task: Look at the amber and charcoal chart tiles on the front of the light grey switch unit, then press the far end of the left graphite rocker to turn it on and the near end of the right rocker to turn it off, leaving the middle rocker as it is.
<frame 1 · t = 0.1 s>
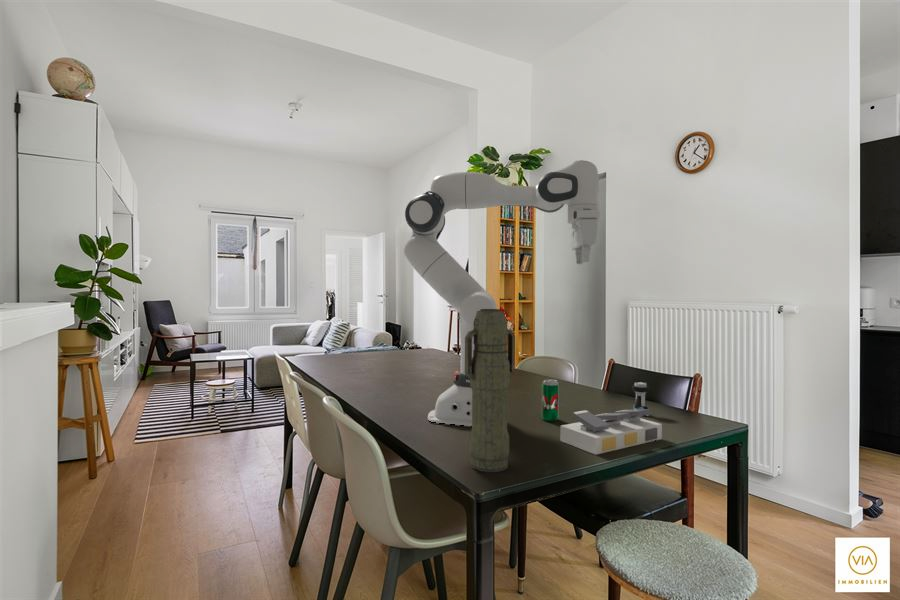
hand: (582, 263, 139), 48 cm above the table, tool pointing down, fingers open, 8 cm apart
middle rocker: (611, 416, 123), point 6 cm above the table, hinge at 14.0°
switch unit: (611, 439, 123), on the table
right rocker: (631, 412, 127), point 6 cm above the table, hinge at 14.0°
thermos: (488, 465, 104), on the table
left rocker: (590, 420, 119), point 6 cm above the table, hinge at -14.0°
soda can: (550, 420, 142), on the table
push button: (641, 415, 149), on the table
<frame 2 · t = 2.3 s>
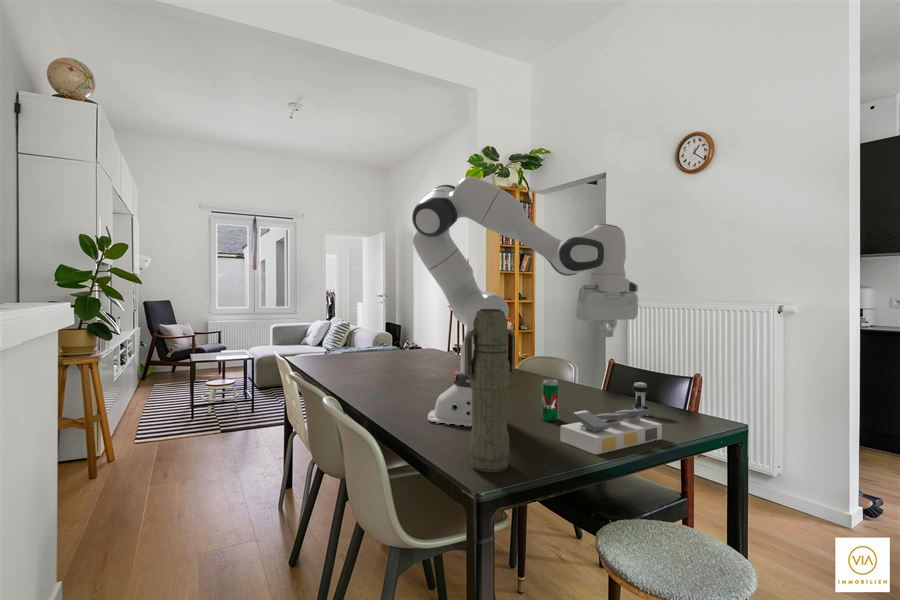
hand: (607, 337, 125), 27 cm above the table, tool pointing down, fingers closed
nothing on the table moved.
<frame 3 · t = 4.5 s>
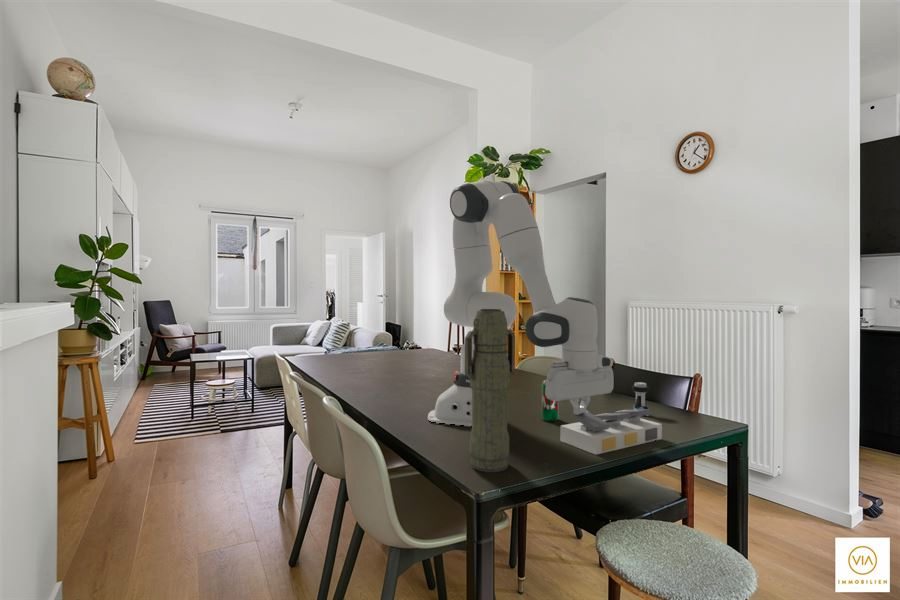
hand: (579, 413, 120), 8 cm above the table, tool pointing down, fingers closed, pressing on left rocker
left rocker: (590, 420, 119), point 6 cm above the table, hinge at -14.0°, touching gripper
everything else where it was.
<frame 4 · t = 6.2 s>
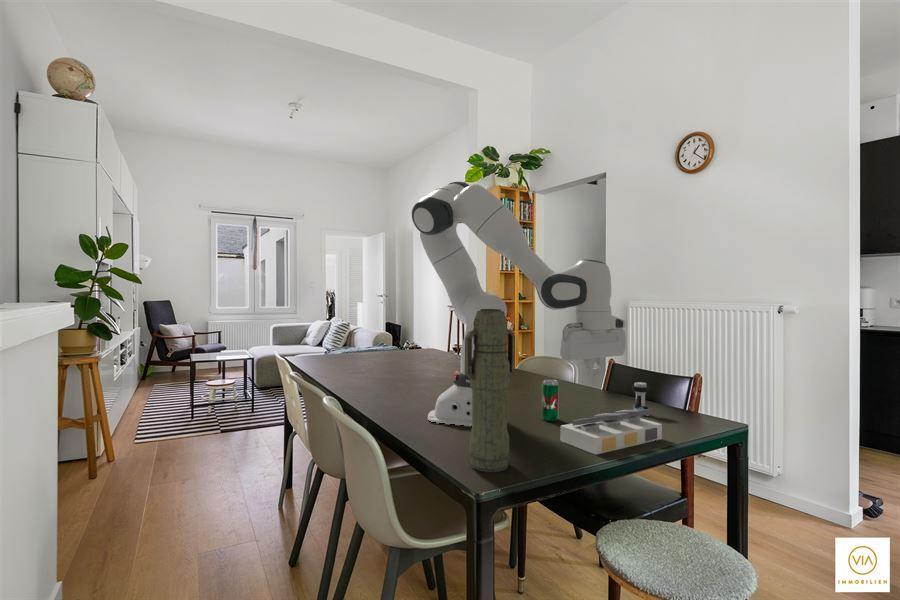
hand: (593, 375, 121), 17 cm above the table, tool pointing down, fingers closed
left rocker: (590, 420, 119), point 6 cm above the table, hinge at 19.7°
everything else where it was.
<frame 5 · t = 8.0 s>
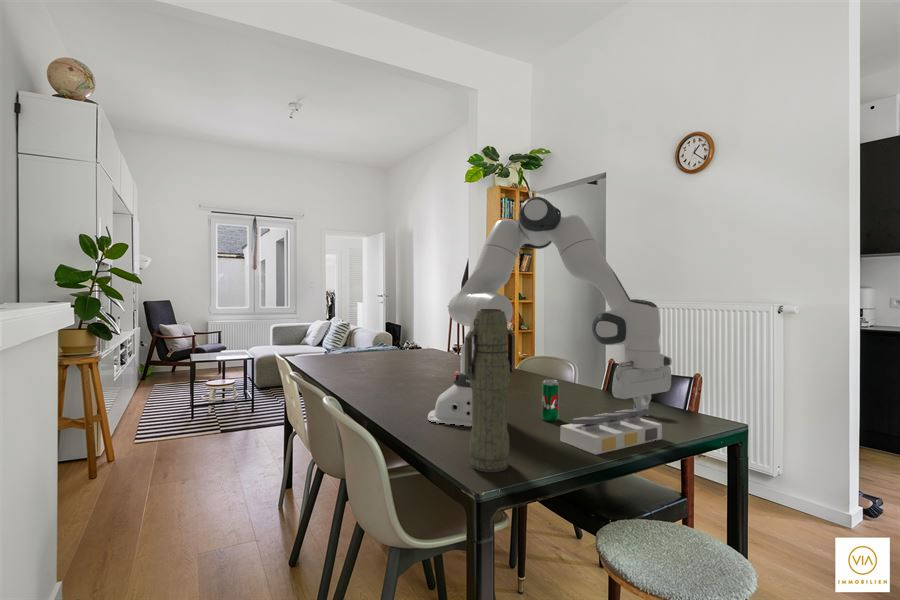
hand: (642, 411, 125), 7 cm above the table, tool pointing down, fingers closed, pressing on right rocker
right rocker: (631, 412, 127), point 6 cm above the table, hinge at 13.9°, touching gripper
left rocker: (590, 420, 119), point 6 cm above the table, hinge at 14.3°
everything else where it was.
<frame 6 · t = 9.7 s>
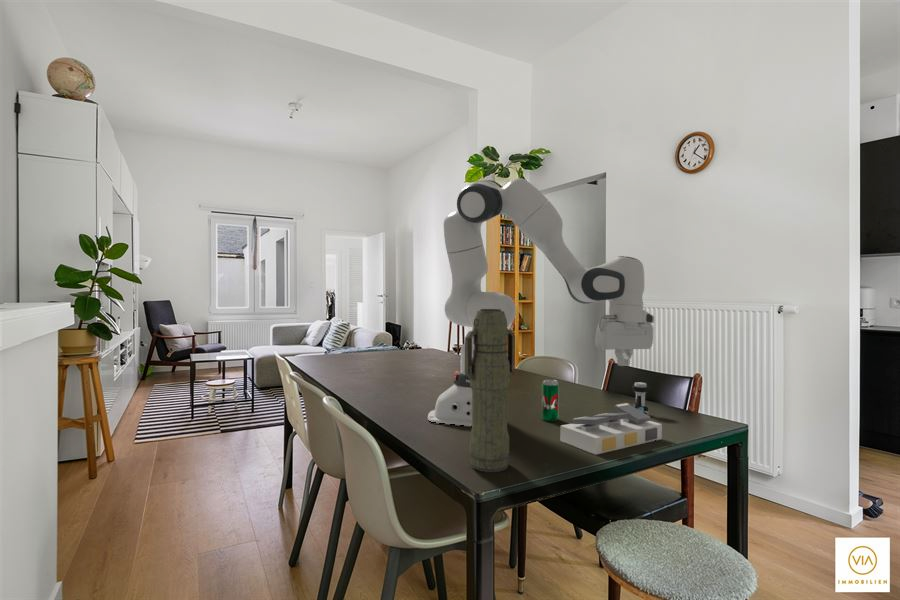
hand: (623, 365, 128), 19 cm above the table, tool pointing down, fingers closed
right rocker: (631, 412, 127), point 6 cm above the table, hinge at -15.8°
left rocker: (590, 420, 119), point 6 cm above the table, hinge at 12.9°
everything else where it was.
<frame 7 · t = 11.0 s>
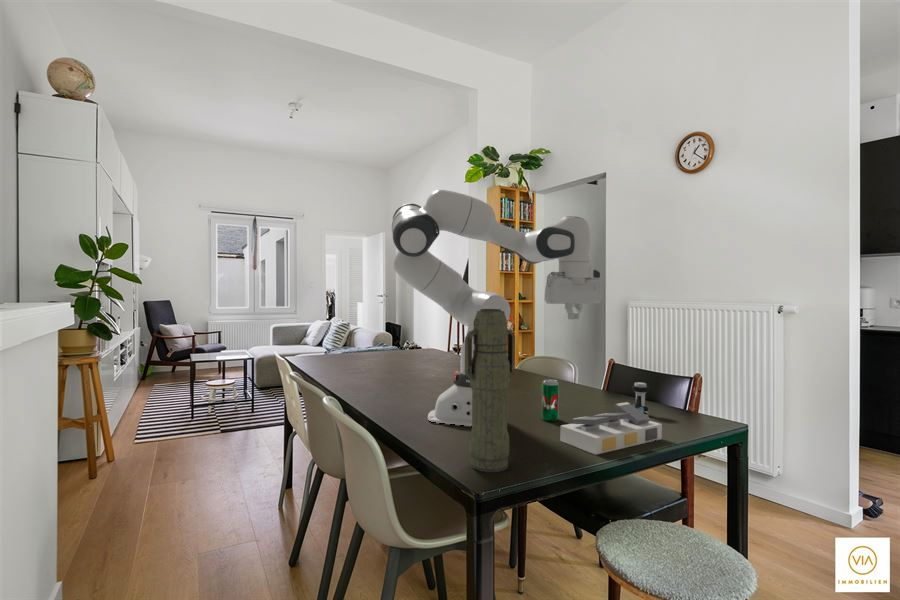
hand: (573, 319, 137), 31 cm above the table, tool pointing down, fingers closed
right rocker: (631, 412, 127), point 6 cm above the table, hinge at -21.0°
left rocker: (590, 420, 119), point 6 cm above the table, hinge at 12.5°
everything else where it was.
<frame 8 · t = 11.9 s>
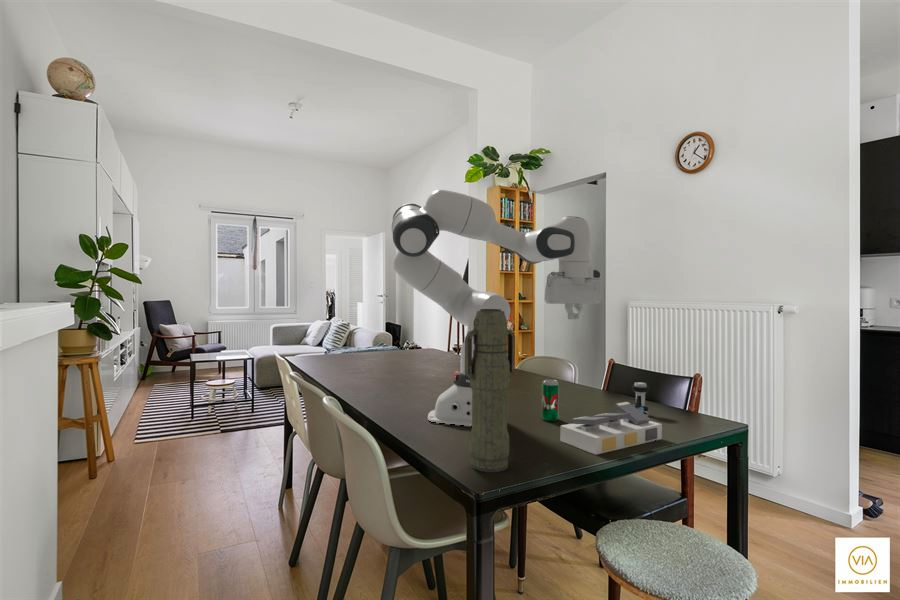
hand: (573, 319, 137), 31 cm above the table, tool pointing down, fingers closed
right rocker: (631, 412, 127), point 6 cm above the table, hinge at -22.6°
everything else where it was.
at the end: left rocker at +12° (first picture: -14°); middle rocker at +14° (first picture: +14°); right rocker at -23° (first picture: +14°) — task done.
